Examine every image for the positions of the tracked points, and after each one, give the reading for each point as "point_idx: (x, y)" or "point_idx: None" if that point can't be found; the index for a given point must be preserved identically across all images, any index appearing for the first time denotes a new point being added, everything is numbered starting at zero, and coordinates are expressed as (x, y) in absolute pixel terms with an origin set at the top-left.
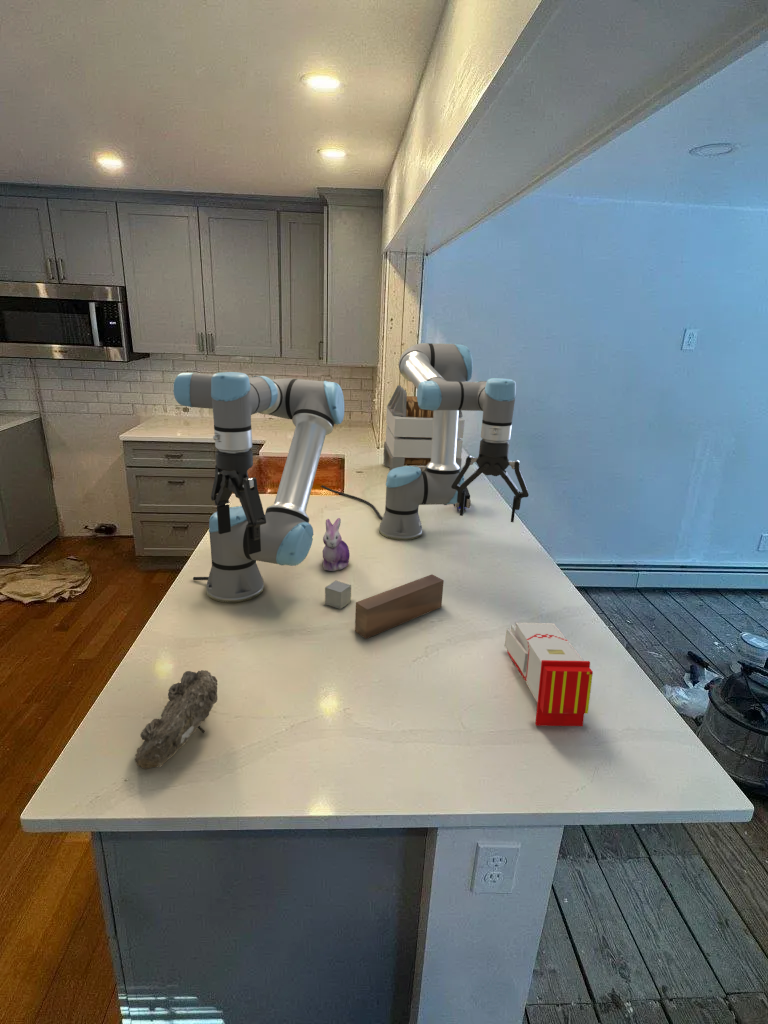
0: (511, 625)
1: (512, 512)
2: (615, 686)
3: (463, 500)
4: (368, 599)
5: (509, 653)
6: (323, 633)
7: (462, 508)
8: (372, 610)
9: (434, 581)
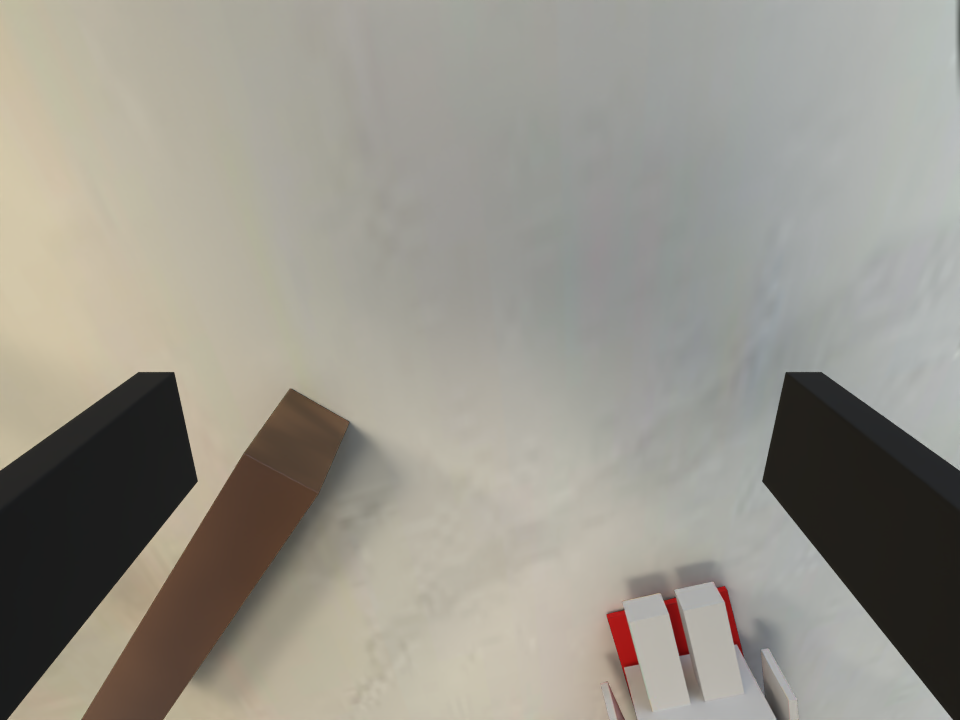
0: (629, 626)
1: (839, 563)
2: (889, 658)
3: (63, 637)
4: (101, 710)
5: (613, 638)
6: (62, 666)
7: (139, 544)
8: None
9: (281, 516)
